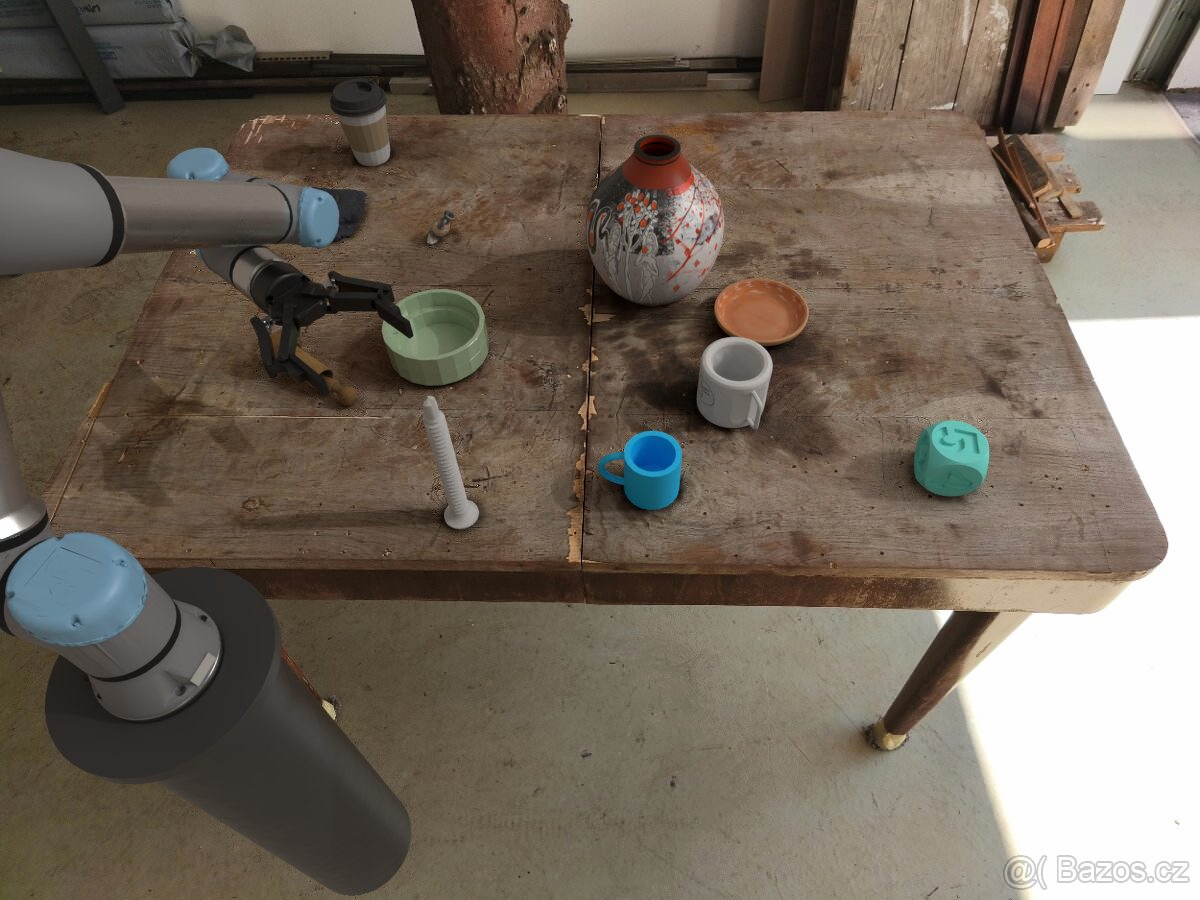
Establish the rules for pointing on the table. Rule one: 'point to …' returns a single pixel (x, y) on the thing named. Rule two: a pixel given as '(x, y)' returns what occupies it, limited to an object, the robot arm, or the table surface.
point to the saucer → (761, 311)
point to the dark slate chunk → (347, 209)
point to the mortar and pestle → (320, 372)
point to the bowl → (438, 337)
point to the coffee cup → (363, 119)
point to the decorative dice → (951, 458)
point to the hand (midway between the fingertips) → (368, 358)
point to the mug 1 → (648, 469)
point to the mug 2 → (734, 382)
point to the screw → (448, 468)
